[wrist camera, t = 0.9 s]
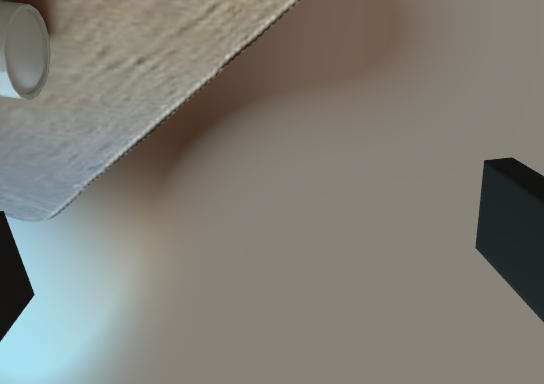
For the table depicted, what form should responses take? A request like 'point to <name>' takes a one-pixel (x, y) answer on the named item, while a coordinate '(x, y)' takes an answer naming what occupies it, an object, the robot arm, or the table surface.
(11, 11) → the spotlight
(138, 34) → the table surface
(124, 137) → the table surface
